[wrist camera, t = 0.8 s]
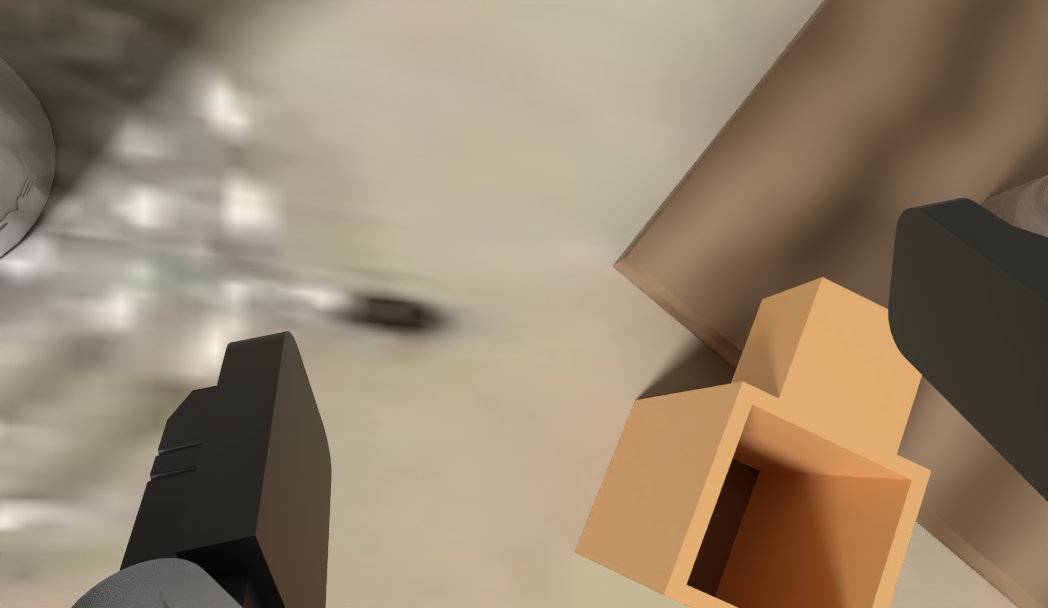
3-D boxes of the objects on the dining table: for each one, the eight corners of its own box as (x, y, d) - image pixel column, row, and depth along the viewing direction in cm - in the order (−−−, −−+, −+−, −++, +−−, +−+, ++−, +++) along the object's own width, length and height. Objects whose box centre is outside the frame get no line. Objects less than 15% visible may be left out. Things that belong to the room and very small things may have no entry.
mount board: (612, 266, 35) (627, 255, 33) (908, -105, 41) (935, -133, 39) (1047, 631, 36) (1086, 641, 34) (1275, 217, 42) (1319, 206, 40)
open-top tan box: (720, 616, 34) (865, 684, 24) (574, 552, 33) (664, 595, 23) (805, 375, 36) (968, 349, 26) (670, 311, 36) (787, 259, 26)
